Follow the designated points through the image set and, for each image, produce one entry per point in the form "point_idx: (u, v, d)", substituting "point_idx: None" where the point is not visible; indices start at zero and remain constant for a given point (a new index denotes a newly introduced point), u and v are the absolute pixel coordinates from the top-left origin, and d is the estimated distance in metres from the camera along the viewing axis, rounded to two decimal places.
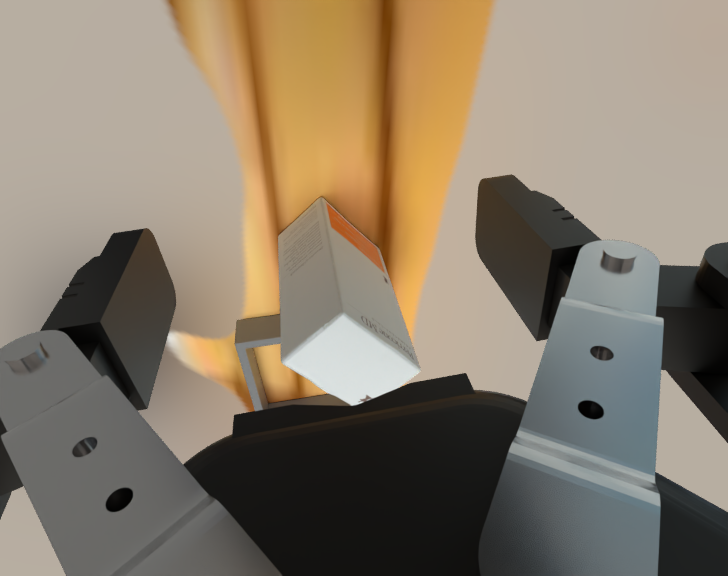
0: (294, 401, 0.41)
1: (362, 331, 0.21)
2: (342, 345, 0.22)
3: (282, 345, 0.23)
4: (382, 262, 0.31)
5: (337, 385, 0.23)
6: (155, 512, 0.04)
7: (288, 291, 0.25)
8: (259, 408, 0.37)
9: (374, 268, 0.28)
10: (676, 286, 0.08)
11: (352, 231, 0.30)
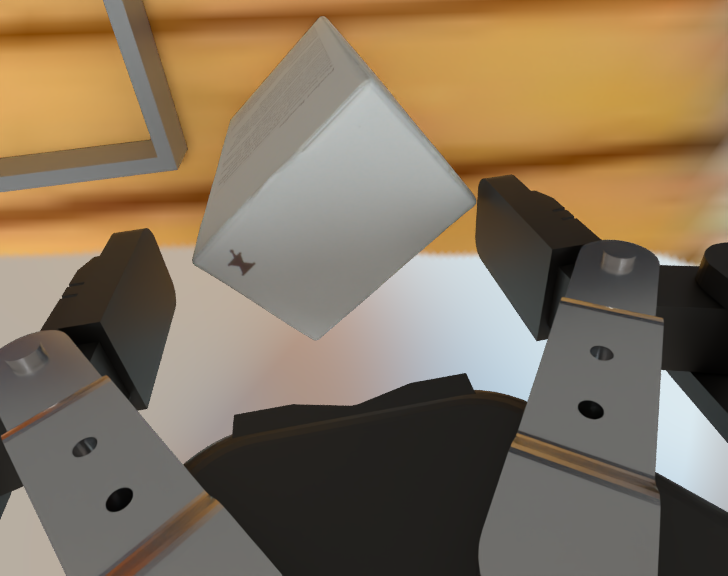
0: None
1: (429, 240, 0.12)
2: (404, 208, 0.11)
3: (369, 73, 0.10)
4: None
5: (288, 204, 0.11)
6: (155, 512, 0.04)
7: (361, 61, 0.14)
8: None
9: None
10: (676, 286, 0.08)
11: None
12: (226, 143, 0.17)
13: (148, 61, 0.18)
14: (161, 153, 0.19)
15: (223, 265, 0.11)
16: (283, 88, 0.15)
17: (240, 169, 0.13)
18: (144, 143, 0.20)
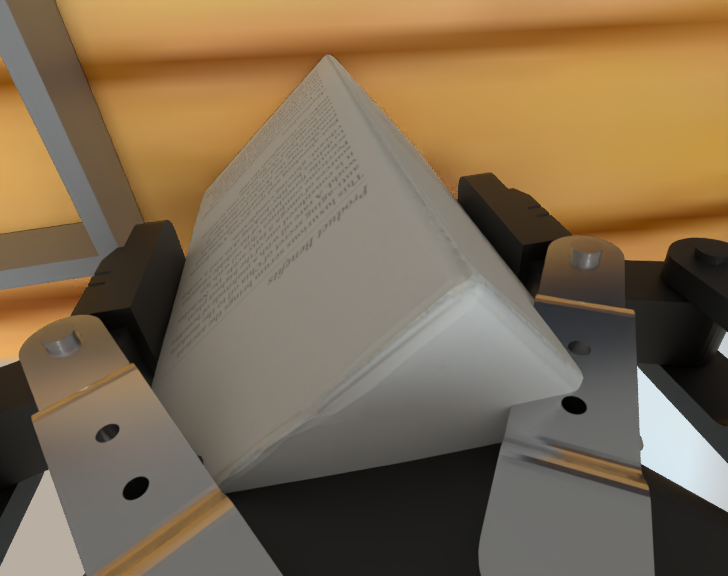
0: None
1: None
2: None
3: (454, 234, 0.05)
4: None
5: None
6: (168, 502, 0.04)
7: (403, 151, 0.08)
8: None
9: None
10: (642, 280, 0.08)
11: None
12: (193, 244, 0.12)
13: (78, 126, 0.12)
14: (104, 250, 0.13)
15: None
16: (274, 178, 0.10)
17: (202, 346, 0.08)
18: None
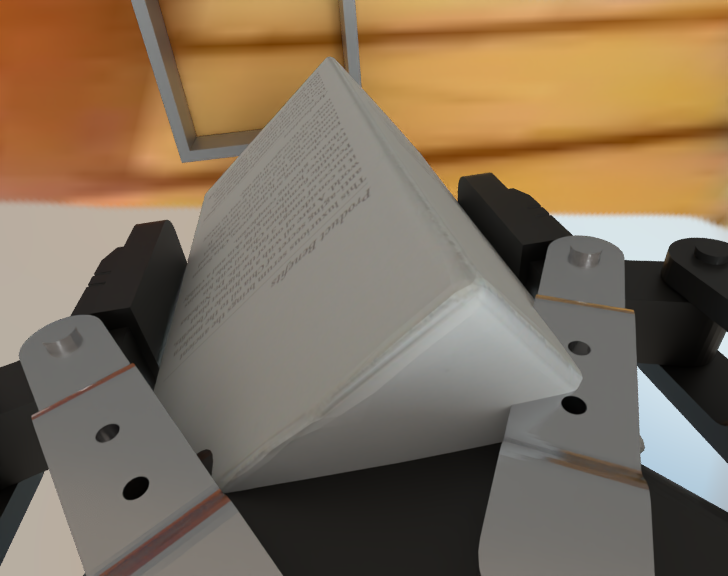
0: (167, 37, 0.25)
1: None
2: None
3: (457, 238, 0.05)
4: None
5: None
6: (168, 502, 0.04)
7: (405, 153, 0.08)
8: None
9: None
10: (642, 280, 0.08)
11: None
12: (195, 246, 0.12)
13: None
14: None
15: None
16: (277, 181, 0.10)
17: (205, 348, 0.08)
18: None
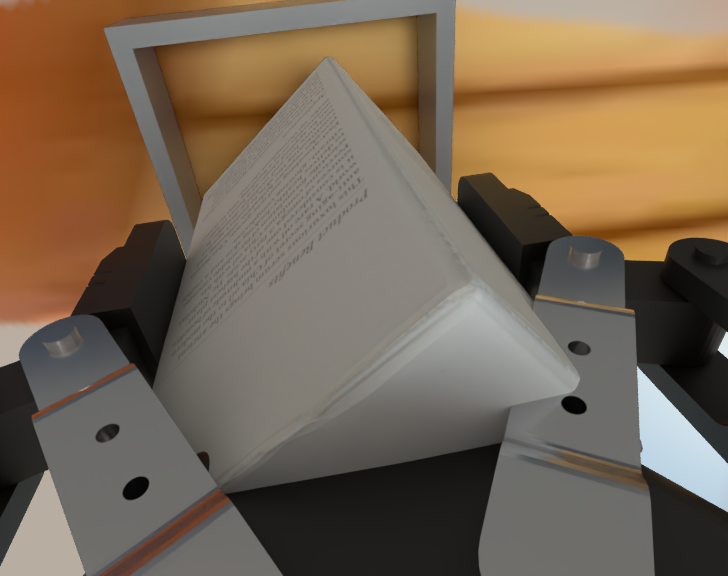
0: (170, 108, 0.17)
1: None
2: None
3: (454, 238, 0.05)
4: None
5: None
6: (168, 503, 0.04)
7: (404, 154, 0.08)
8: (218, 29, 0.14)
9: None
10: (642, 280, 0.08)
11: None
12: (193, 246, 0.12)
13: None
14: None
15: None
16: (275, 181, 0.10)
17: (203, 349, 0.08)
18: None
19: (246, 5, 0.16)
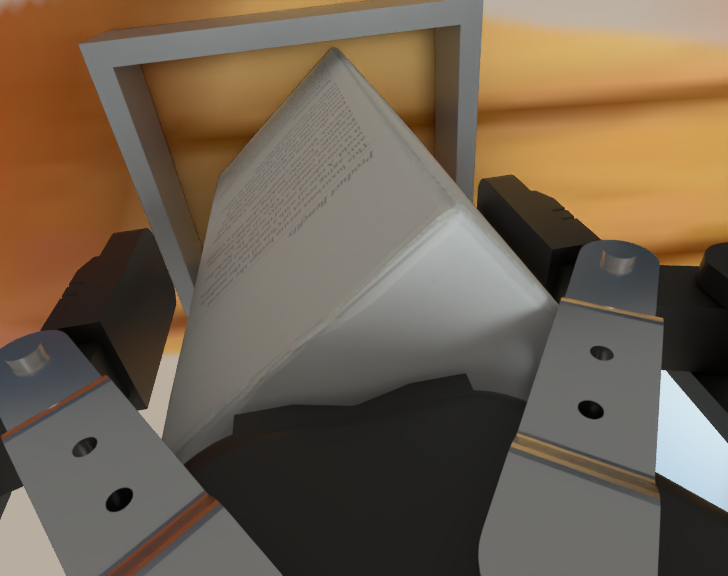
0: (159, 130, 0.15)
1: None
2: (495, 382, 0.07)
3: (444, 181, 0.06)
4: None
5: (310, 392, 0.07)
6: (156, 512, 0.04)
7: None
8: (211, 45, 0.12)
9: None
10: (676, 286, 0.08)
11: None
12: (212, 219, 0.13)
13: None
14: None
15: None
16: (288, 155, 0.11)
17: (231, 293, 0.09)
18: None
19: (243, 15, 0.14)
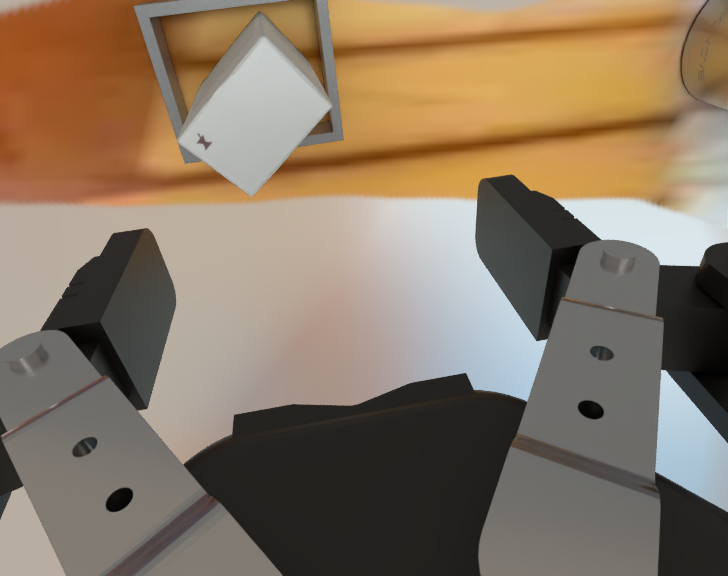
0: (169, 56, 0.29)
1: (309, 128, 0.21)
2: (291, 108, 0.21)
3: (267, 35, 0.20)
4: None
5: (227, 105, 0.20)
6: (155, 512, 0.04)
7: (274, 34, 0.23)
8: (195, 6, 0.26)
9: None
10: (676, 286, 0.08)
11: None
12: (197, 94, 0.27)
13: None
14: (336, 129, 0.31)
15: (194, 143, 0.21)
16: (231, 54, 0.25)
17: (203, 97, 0.22)
18: None
19: None
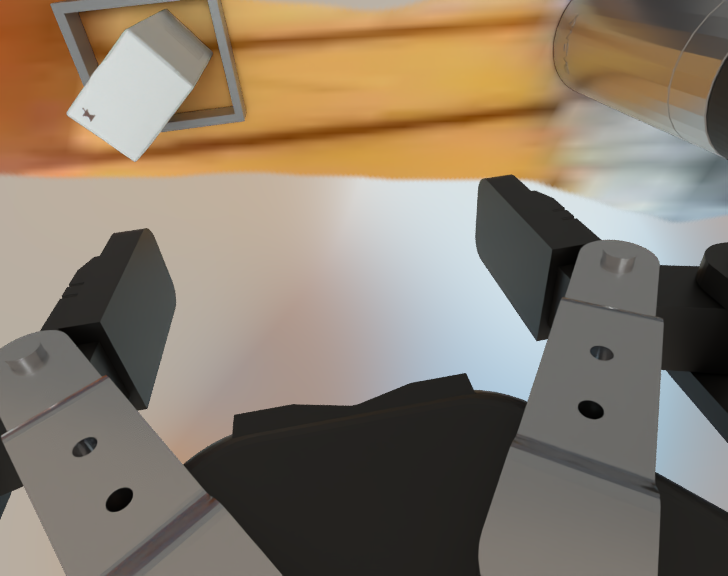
0: (89, 46, 0.34)
1: (176, 105, 0.26)
2: (158, 88, 0.26)
3: (134, 28, 0.25)
4: None
5: (104, 85, 0.25)
6: (155, 511, 0.04)
7: (157, 28, 0.28)
8: (103, 4, 0.31)
9: None
10: (676, 286, 0.08)
11: None
12: None
13: (232, 63, 0.35)
14: (237, 111, 0.36)
15: (80, 115, 0.26)
16: None
17: None
18: (223, 108, 0.37)
19: None
